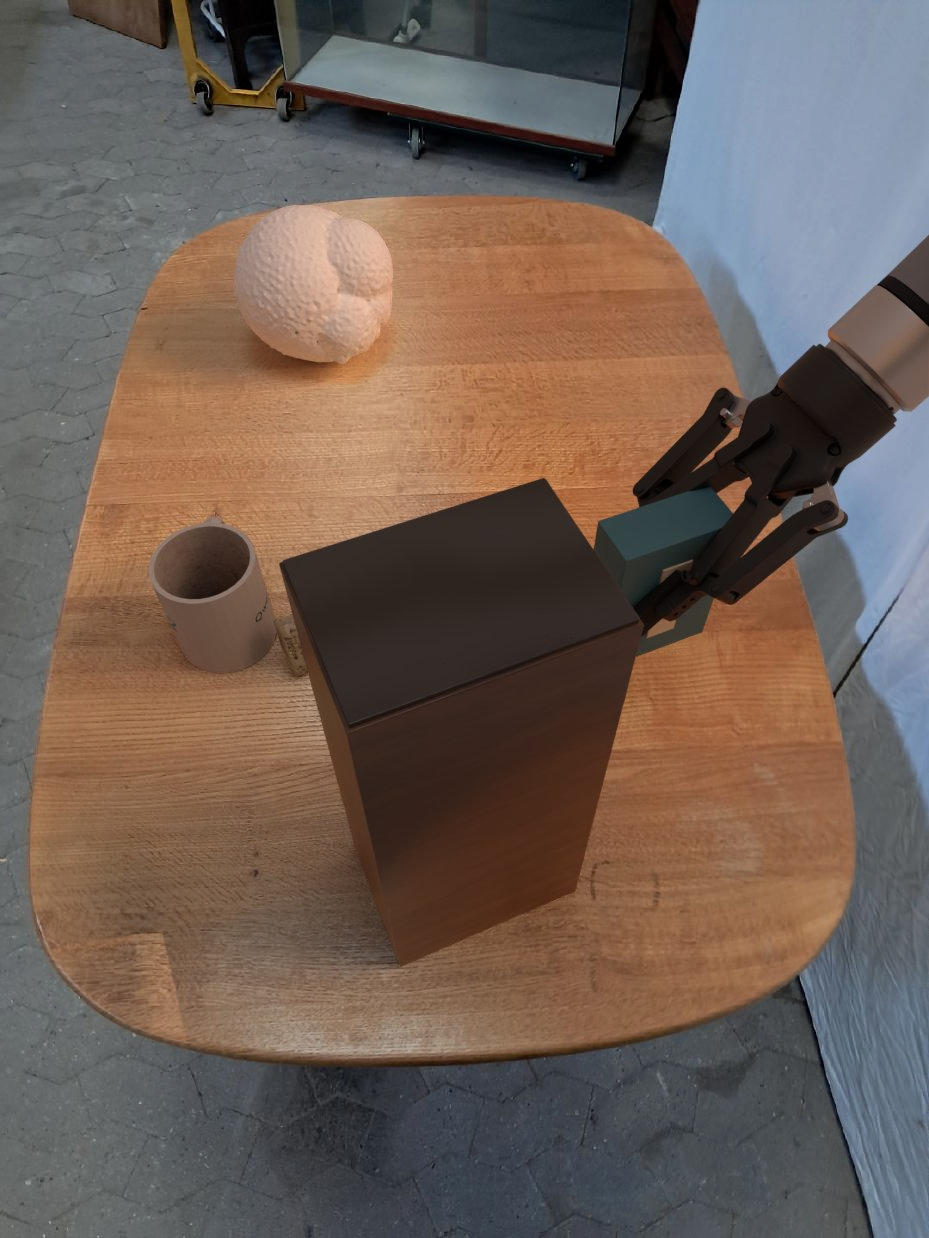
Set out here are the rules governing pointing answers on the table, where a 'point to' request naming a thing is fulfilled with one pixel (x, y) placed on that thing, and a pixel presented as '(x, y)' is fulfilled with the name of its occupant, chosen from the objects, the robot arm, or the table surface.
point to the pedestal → (466, 705)
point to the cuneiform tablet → (290, 644)
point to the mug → (214, 596)
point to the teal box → (662, 554)
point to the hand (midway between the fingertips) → (607, 611)
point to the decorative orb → (314, 283)
